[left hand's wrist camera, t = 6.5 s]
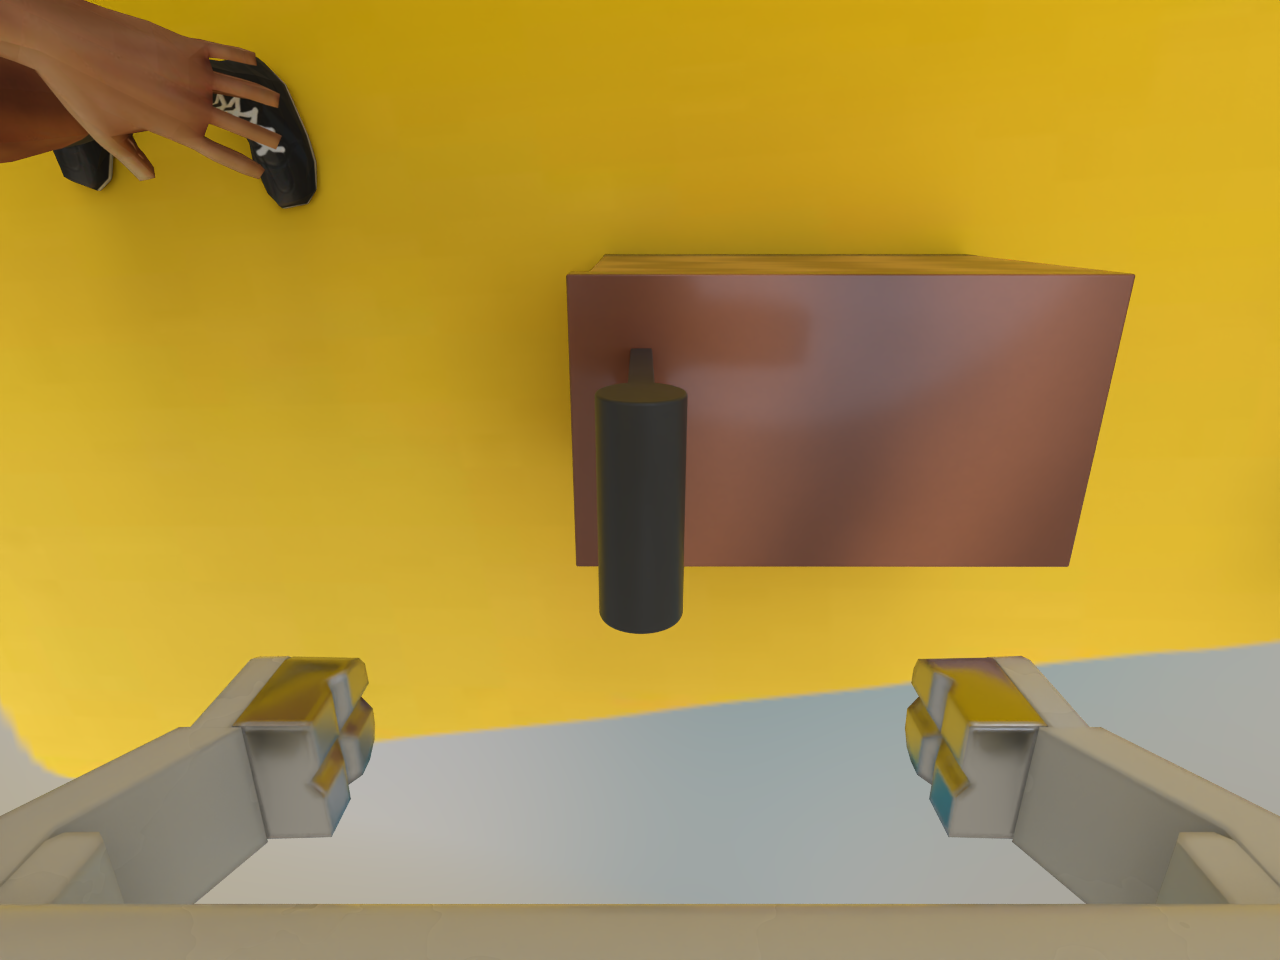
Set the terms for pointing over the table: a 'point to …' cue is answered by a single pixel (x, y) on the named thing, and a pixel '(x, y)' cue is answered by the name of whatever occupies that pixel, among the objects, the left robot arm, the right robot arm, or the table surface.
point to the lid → (830, 421)
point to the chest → (817, 263)
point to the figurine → (140, 97)
